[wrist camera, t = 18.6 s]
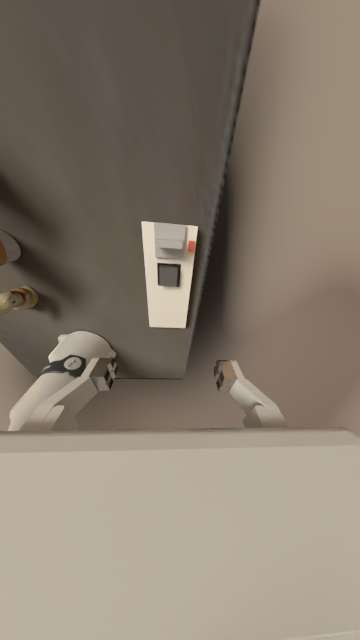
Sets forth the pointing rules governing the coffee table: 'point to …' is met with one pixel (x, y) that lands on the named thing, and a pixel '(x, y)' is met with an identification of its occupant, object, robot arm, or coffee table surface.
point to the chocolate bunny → (18, 299)
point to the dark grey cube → (168, 275)
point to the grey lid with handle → (169, 240)
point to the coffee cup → (8, 248)
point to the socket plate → (168, 300)
